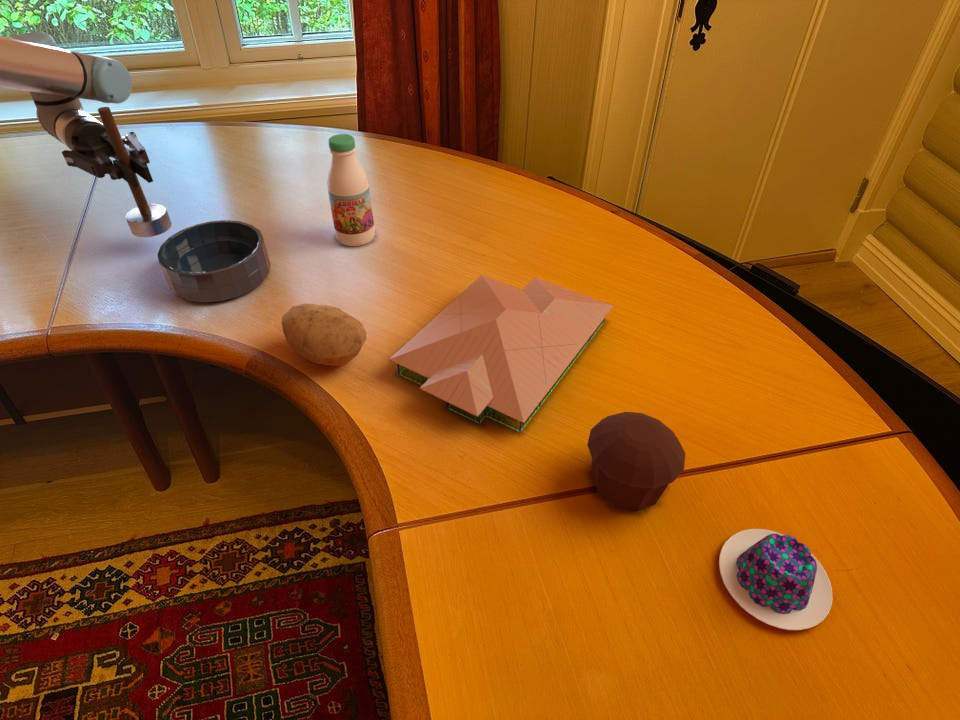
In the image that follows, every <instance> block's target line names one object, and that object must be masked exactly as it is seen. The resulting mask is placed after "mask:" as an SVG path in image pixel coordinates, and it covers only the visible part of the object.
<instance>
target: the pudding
mask: <svg viewBox="0 0 960 720" xmlns="http://www.w3.org/2000/svg"><path fill="white" fill-rule="evenodd" d="M718 565H719V566H718V567H719V572H720V573H719V574H720V577H721V579H722V582H723V585H724V586H725V588H726V590H727V592H728V593H729V594H730V596H731V597H732V598H733V599H734V601H735V602H736V603H737V604H738V605H739V606H740V607H741V608H742V609H743V610H744V611H745V612H747V613H748V614H750V615H751V616H752V617H754V618H755V619H757V621H760V622H762V623H764V624H766V625H769V626H771V627H775V628H777V629H782V630H788V631H802V630H807V629H811V628H813V627H815V626H818V625H819V624H820V623H822V622H823V621H824V620H825V619H826V617H827V616H828V615H829V613H830V611H831V608H832V606H833V605H832V604H833V587H832V585H831V584H832V583H831V580H830V578H829V576H828V574H827V572H826V570H825V568H824V567H823V565H822V563H821V562H820V561H819V560H818V559H817V557H816V556H815V555H814V554H813V553H812V551H811V550H810V548H809V547H808V546H807V544H805V543H804V542H803V543H802V542H800V541H798V540H797V538H796V537H794V536H792V535H789V534H783V533H781V532H778V531H774V530H770V529H765V528H750V529H743V530H741V531H738V532H736V533H734V534H733V535H731V536H730V537H728V539H727V540H726V541H725V542H724V544H722V547H721V550H720V553H719V560H718Z"/></svg>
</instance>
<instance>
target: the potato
mask: <svg viewBox="0 0 960 720" xmlns="http://www.w3.org/2000/svg"><path fill="white" fill-rule="evenodd" d="M281 328H282V333H283V335H284V338H285V340H286V342H287V344H288V345H289V347H290V348H291V349H292V350H293V351H294V352H296V354H298V355H300V356H301V357H303V358H304V359H306V360H308V361H310V362H312V363H315V364H319V365H323V366H334V367H338V366H343V365H347V364H348V363H349V362H351V361H352V360H353V359H355V358H356V357H358V355H359V353H360V351H361V350H362V347H363V346H364V344H365V342H366V340H367V331H366V329H365V327H364V324H363V323H362V322H361V321H360V320H359V319H358V318H355V317H354V316H352V315H351V314H349V313H348V312H345V311H344V310H342V309H341V308H340V307H336V306H333V305H327V304H317V303H301V304H297V305H294V306H291V308H289V309H288V311H286V313H284V314H283V315H282V316H281Z"/></svg>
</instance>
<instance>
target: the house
mask: <svg viewBox="0 0 960 720" xmlns="http://www.w3.org/2000/svg"><path fill="white" fill-rule="evenodd" d="M614 307H615V305H613V304H610V303H609V302H604V301H602V300H600V299H596V298H594V297H591V296H588V295H585V294H583V293H580V292H577V291H575V290H571V289H569V288H566V287H564V286H560V285H558V284H556V283H552V282H549V281H547V280H545V279H541V278H538V277H536V276H534V277H533V278H532V279H531V280H530V281H529V282H528V283H527V284H526V285H525V286H524V288H522V289H521V288H518V287H515V286H513V285H510V284H508V283H504V282H502V281H499V280H496V279H494V278H491V277H489V276H486V275H482V274H481V275H479V277H477V278H476V279H475V280H474V281H473V282H472V283H471V284H470V285H468V287H467V288H466V289H464V290H463V291H462V292H461V293H460V294H459V295H457V297H456V298H454V299H453V300H452V301H451V302H450V303H449V304H447V306H446V307H445V308H444V309H443V310H441V311H440V312H439V313H438V314H437V315H436V316H435V317H434V318H432V320H430V321H429V322H428V323H427V324H426V325H424V327H422V329H420V331H418V332H417V333H416V334H415V335H413V337H412V338H410V339H409V340H408V341H407V342H406V343H405V344H404V345H403V346H402V347H400V349H398V350H397V351H396V352H395V353H394V354H392V355H391V357H390V358H389V359H388V361H390V362H393V363H394V364H396V365H397V374H398V375H399V376H402V377H404V378H406V379H408V380H410V381H412V382H414V383H416V384H418V385H420V387H419V390H420V391H422V392H424V393H427V394H429V395H431V396H433V397H436V398H437V399H440V400H442V401H444V402H445V403H446V409H449V410H450V411H452V412H454V413H457V414H459V415H461V416H462V417H464V418H467V419H468V420H471V421H473V422H475V423H477V424H479V425H480V424H481V423H482V422H483V420H484V419H485V418H486V417H487V418H489V419H492V420H493V421H496V422H498V423H500V424H502V425H503V426H506V427H508V428H510V429H512V430H514V431H516V432H519V433H521V432H522V431H523V430H524V428H525V427H526V426H527V425H528V423H529V422H530V421H531V419H532V418H533V417H534V415H535V414H536V412H537V411H538V410H539V408H540V407H541V406H542V405H543V403H544V402H545V401H546V400H547V398H549V396H550V394H551V393H552V391H553V390H554V389H555V388H556V386H557V385H558V384H559V382H560V381H561V380H562V379H563V377H564V376H565V375H566V374H567V372H568V371H569V369H570V368H571V366H572V365H573V364H574V363H575V361H576V360H577V359H578V358H579V356H580V355H581V354H582V352H583V351H584V350H585V348H586V347H587V346H588V344H589V343H590V341H591V340H592V339H593V338H594V336H596V334H597V332H598V331H599V330H600V328H601V327H602V326H603V325H604V323H605V319H606V317H607V316H608V314H609V313H610V312H611V311H612V310H613V308H614ZM404 371H406V376H405V372H404ZM401 373H402V374H401ZM409 373H410V374H411V375H410V376H411V377H413V375H415V379H414V378H410V377H409ZM417 376H418V377H419V382H418V379H417ZM422 379H423V380H424V381H423V382H424V383H423V384H422ZM450 407H456V410H454V409H453V408H450ZM459 409H461V412H459ZM464 412H466V415H464ZM493 412H494V413H495V418H494V417H493ZM489 413H490V416H489V415H488V414H489ZM468 414H470V415H471V416H474V419H473V418H472V417H468ZM481 415H482V418H481ZM498 415H500V420H498V418H497V417H498ZM477 417H478V421H477ZM502 417H504V418H505V423H503V422H502V420H503V418H502ZM508 419H509V420H510V425H508V424H507V423H508V422H507V421H508ZM513 422H515V428H514V427H512V424H513ZM518 424H519V427H518V428H519V429H518V428H517V426H518Z"/></svg>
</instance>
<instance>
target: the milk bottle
mask: <svg viewBox="0 0 960 720" xmlns="http://www.w3.org/2000/svg"><path fill="white" fill-rule="evenodd" d="M327 144H328V148H329V153H330V154H331V161H330V165H329V170H328V172H327V177H326V179H327V180H326V183H327V184H326V185H327V191H328V192H327V193H328V194H327V195H328V199H329V206H330V211H331V217H332V221H333V222H332V223H333V228H334V234H335V239H336V240H337V241H338V242H339V243H340V244H341V245H344V246H347V247H359V246H364V245H366V244H369V243H370V242H371V241H373V240H374V238H375V236H376V235H375V234H376V229H375V220H374V213H373V205H372V198H371V190H370V184H369V180H368V176H367V173H366V171H365V169H364V168H363V166H362V165H361V163H360V161H359V160H358V158H357V154H356V150H357V148H356V140H355V138H354V136H353V135H351V134H347V133H339V134H333V135H332V136H330V137H329V138H328V140H327Z"/></svg>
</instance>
